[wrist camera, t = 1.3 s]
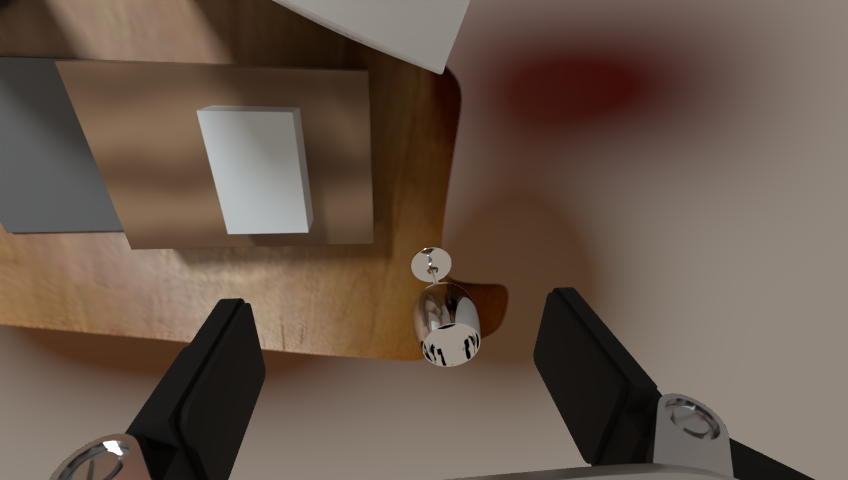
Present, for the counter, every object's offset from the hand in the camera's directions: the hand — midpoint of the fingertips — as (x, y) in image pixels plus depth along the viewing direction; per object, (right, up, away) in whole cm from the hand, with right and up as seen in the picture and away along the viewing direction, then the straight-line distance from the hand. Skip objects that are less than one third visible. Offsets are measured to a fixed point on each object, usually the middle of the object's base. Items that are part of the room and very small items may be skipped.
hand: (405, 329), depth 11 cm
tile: (-12, +9, +16) cm, 22 cm away
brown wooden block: (-14, +10, +19) cm, 26 cm away
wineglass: (+1, 0, +27) cm, 27 cm away
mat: (-30, +10, +18) cm, 36 cm away
